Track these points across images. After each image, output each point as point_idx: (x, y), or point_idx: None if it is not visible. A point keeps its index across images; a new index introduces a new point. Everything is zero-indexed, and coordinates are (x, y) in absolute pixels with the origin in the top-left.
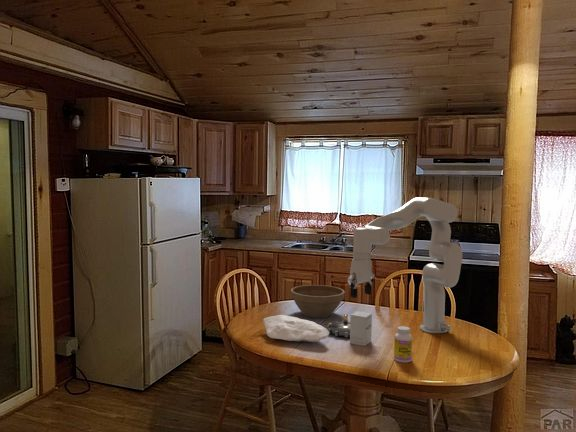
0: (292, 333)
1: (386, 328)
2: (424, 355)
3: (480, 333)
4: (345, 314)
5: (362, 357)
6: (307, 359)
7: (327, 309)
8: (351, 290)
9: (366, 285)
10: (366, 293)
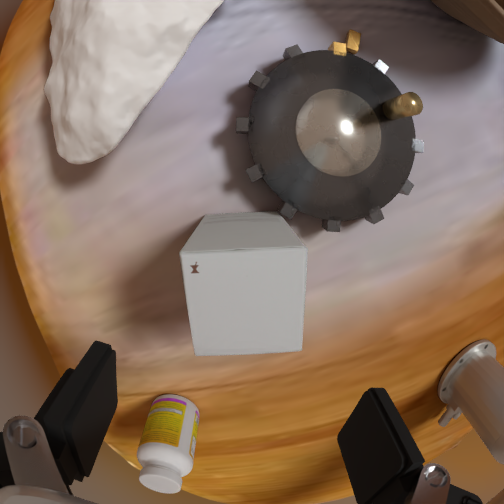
0: (57, 34)
1: (451, 261)
2: (248, 435)
3: (452, 435)
4: (415, 100)
5: (108, 317)
6: (3, 182)
7: (448, 5)
8: (44, 410)
9: (387, 478)
10: (355, 410)
